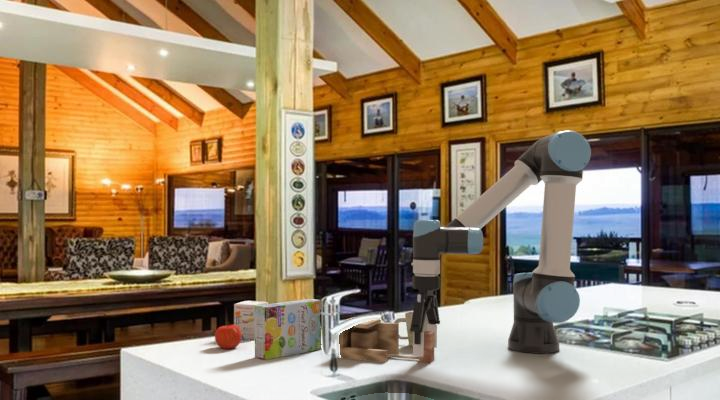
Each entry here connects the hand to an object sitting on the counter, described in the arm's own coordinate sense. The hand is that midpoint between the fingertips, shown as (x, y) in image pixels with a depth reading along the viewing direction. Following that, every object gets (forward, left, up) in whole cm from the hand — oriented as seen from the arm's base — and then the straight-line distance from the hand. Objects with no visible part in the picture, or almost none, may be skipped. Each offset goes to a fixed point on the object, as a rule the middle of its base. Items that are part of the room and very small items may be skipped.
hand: (425, 351), depth 179 cm
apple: (+61, +5, -3) cm, 61 cm away
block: (+10, 0, -3) cm, 10 cm away
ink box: (+64, -13, -3) cm, 66 cm away
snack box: (+40, +5, -3) cm, 41 cm away
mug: (+10, -20, -3) cm, 23 cm away
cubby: (+16, 0, -3) cm, 16 cm away
